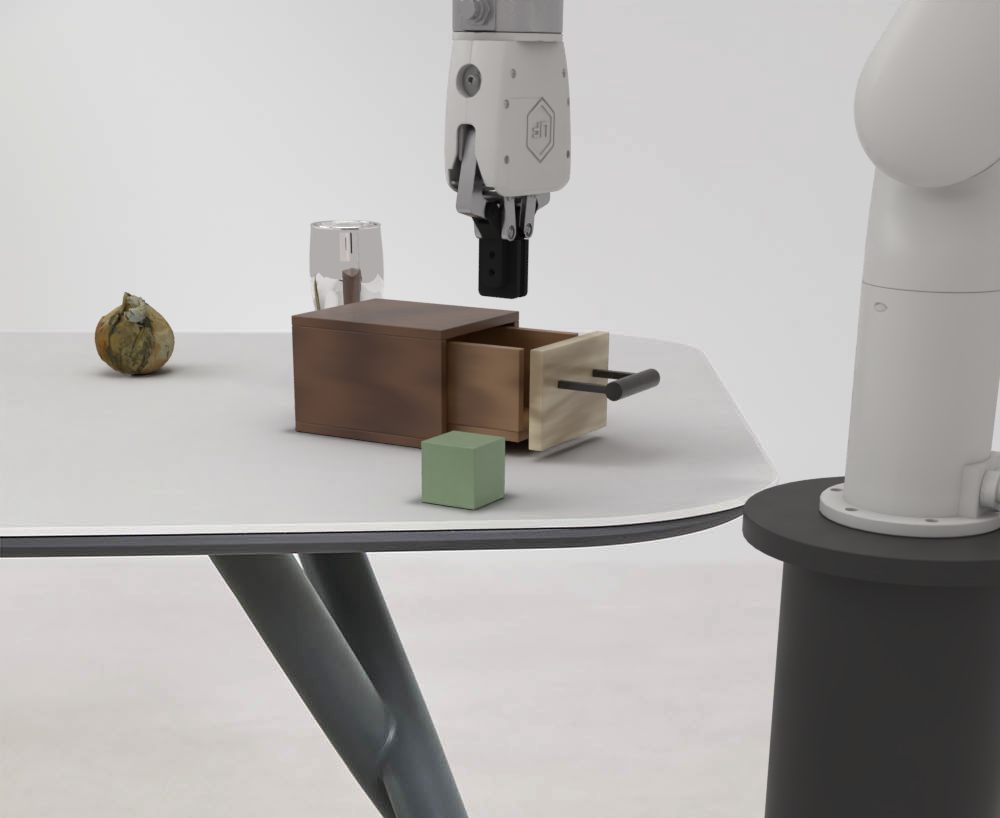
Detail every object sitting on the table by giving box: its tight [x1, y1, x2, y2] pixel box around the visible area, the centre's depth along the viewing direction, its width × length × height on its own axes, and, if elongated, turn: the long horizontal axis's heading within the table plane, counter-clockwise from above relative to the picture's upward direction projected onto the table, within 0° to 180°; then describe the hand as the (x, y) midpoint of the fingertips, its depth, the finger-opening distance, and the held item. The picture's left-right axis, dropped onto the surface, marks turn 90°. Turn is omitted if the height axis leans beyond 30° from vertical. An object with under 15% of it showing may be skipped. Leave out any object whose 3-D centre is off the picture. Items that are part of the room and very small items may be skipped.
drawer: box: [445, 325, 661, 452], centre depth 139 cm, size 19×11×8 cm, turn 60°
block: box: [420, 431, 506, 511], centre depth 123 cm, size 4×4×4 cm
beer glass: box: [308, 219, 385, 311], centre depth 161 cm, size 7×7×15 cm
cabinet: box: [291, 298, 520, 449], centre depth 145 cm, size 15×13×10 cm
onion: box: [94, 291, 176, 376], centre depth 169 cm, size 8×8×8 cm
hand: (502, 295), depth 123 cm, fingers closed
